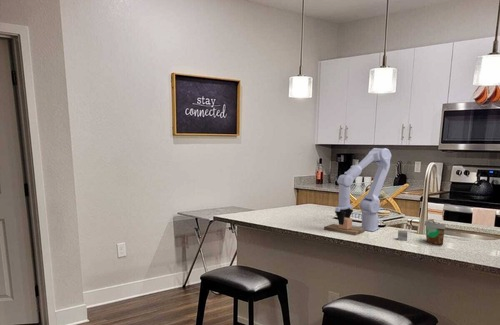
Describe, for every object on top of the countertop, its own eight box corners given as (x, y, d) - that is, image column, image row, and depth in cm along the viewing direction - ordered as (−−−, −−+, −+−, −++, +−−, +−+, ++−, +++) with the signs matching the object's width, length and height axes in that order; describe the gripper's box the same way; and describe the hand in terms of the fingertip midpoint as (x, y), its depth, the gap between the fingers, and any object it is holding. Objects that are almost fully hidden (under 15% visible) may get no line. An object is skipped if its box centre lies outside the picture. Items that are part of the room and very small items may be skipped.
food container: (419, 239, 185) (420, 218, 184) (432, 239, 184) (433, 219, 184) (430, 246, 172) (431, 224, 172) (444, 246, 172) (445, 224, 172)
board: (333, 226, 209) (333, 223, 209) (364, 232, 197) (364, 229, 197) (323, 229, 202) (324, 226, 202) (355, 235, 190) (355, 232, 190)
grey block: (397, 238, 186) (398, 230, 186) (406, 239, 184) (407, 231, 184) (398, 240, 182) (398, 232, 182) (407, 241, 181) (407, 232, 180)
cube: (343, 226, 202) (343, 216, 202) (351, 227, 199) (352, 218, 198) (338, 227, 198) (338, 218, 198) (347, 229, 195) (347, 219, 195)
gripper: (344, 200, 190) (343, 226, 191) (358, 197, 201) (357, 222, 202) (332, 198, 195) (331, 224, 196) (345, 195, 206) (345, 220, 206)
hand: (343, 223), depth 199 cm, fingers closed on cube, 5 cm apart
